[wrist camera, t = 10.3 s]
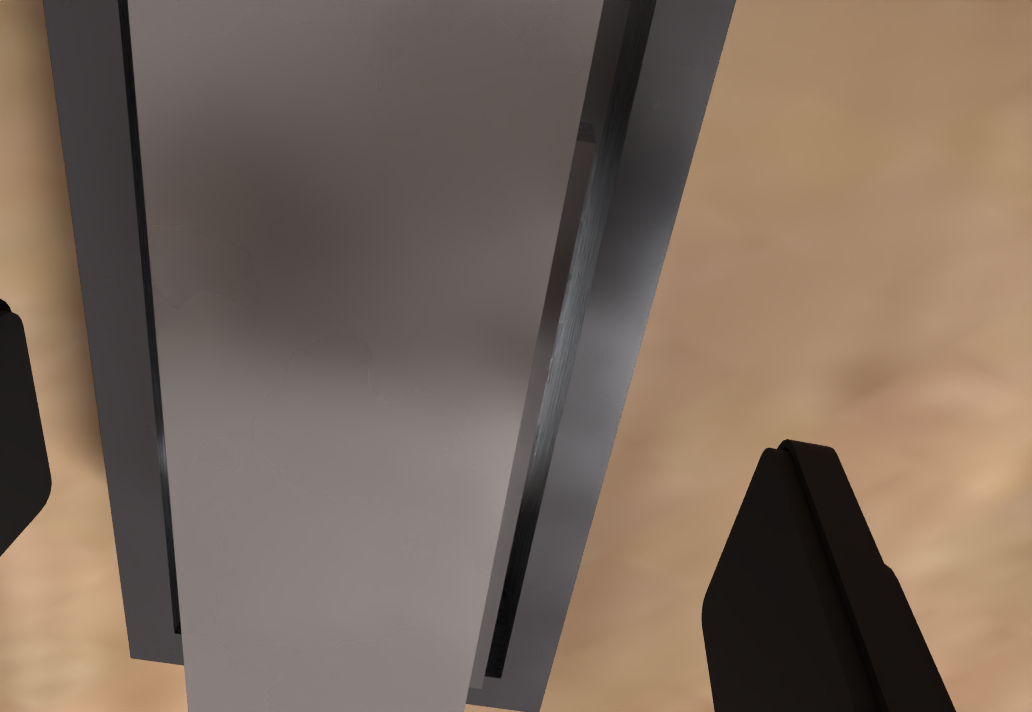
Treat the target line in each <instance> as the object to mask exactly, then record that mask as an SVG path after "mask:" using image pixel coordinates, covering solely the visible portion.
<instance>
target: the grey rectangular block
mask: <svg viewBox="0 0 1032 712" xmlns="http://www.w3.org/2000/svg"><path fill="white" fill-rule="evenodd" d="M603 1H604V0H128V11H129V22H130V34H131V46H132V58H133V69H134V81H135V93H136V105H137V116H138V128H139V140H140V152H141V163H142V175H143V187H144V199H145V210H146V222H147V234H148V245H149V257H150V269H151V281H152V292H153V304H154V316H155V328H156V339H157V351H158V363H159V375H160V386H161V398H162V410H163V422H164V433H165V445H166V457H167V469H168V480H169V492H170V504H171V515H172V527H173V539H174V551H175V562H176V574H177V586H178V598H179V609H180V621H181V633H182V645H183V656H184V668H185V680H186V692H187V703H188V712H464V709H465V704H466V699H467V694H468V688H469V687H470V688H478V689H482V686H483V681H484V676H485V671H486V667H487V662H488V657H489V652H490V647H491V643H492V638H493V633H494V628H495V624H496V619H497V614H498V609H499V605H500V600H501V595H502V590H503V585H504V581H505V576H506V571H507V566H508V562H509V557H510V552H511V547H512V543H513V538H514V533H515V528H516V524H517V519H518V514H519V509H520V504H521V500H522V495H523V490H524V485H525V481H526V476H527V471H528V466H529V462H530V457H531V452H532V447H533V442H534V438H535V433H536V428H537V423H538V419H539V414H540V409H541V404H542V400H543V395H544V390H545V385H546V381H547V376H548V371H549V366H550V361H551V357H552V352H553V347H554V342H555V338H556V333H557V328H558V323H559V319H560V314H561V309H562V304H563V299H564V295H565V290H566V285H567V280H568V276H569V271H570V266H571V261H572V257H573V252H574V247H575V242H576V238H577V233H578V228H579V223H580V218H581V214H582V209H583V204H584V199H585V195H586V190H587V185H588V180H589V176H590V171H591V166H592V161H593V156H594V152H595V147H596V140H595V134H594V128H593V124H589V123H583V122H580V118H581V113H582V108H583V103H584V98H585V93H586V88H587V83H588V78H589V72H590V67H591V62H592V57H593V52H594V47H595V42H596V37H597V32H598V27H599V22H600V16H601V11H602V6H603Z"/></svg>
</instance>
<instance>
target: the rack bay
mask: <svg viewBox="0 0 1032 712" xmlns="http://www.w3.org/2000/svg"><path fill="white" fill-rule="evenodd" d="M735 2H736V0H604V1H603V6H602V11H601V16H600V22H599V27H598V32H597V37H596V42H595V47H594V52H593V57H592V62H591V67H590V72H589V78H588V83H587V88H586V93H585V98H584V103H583V108H582V113H581V118H580V122H583V123H589V124H593V128H594V134H595V140H596V147H595V152H594V156H593V161H592V166H591V171H590V176H589V180H588V185H587V190H586V195H585V199H584V204H583V209H582V214H581V218H580V223H579V228H578V233H577V238H576V242H575V247H574V252H573V257H572V261H571V266H570V271H569V276H568V280H567V285H566V290H565V295H564V299H563V304H562V309H561V314H560V319H559V323H558V328H557V333H556V338H555V342H554V347H553V352H552V357H551V361H550V366H549V371H548V376H547V381H546V385H545V390H544V395H543V400H542V404H541V409H540V414H539V419H538V423H537V428H536V433H535V438H534V442H533V447H532V452H531V457H530V462H529V466H528V471H527V476H526V481H525V485H524V490H523V495H522V500H521V504H520V509H519V514H518V519H517V524H516V528H515V533H514V538H513V543H512V547H511V552H510V557H509V562H508V566H507V571H506V576H505V581H504V585H503V590H502V595H501V600H500V605H499V609H498V614H497V619H496V624H495V628H494V633H493V638H492V643H491V647H490V652H489V657H488V662H487V667H486V671H485V676H484V681H483V686H482V689H478V688H470V687H469V688H468V694H467V699H466V704H472V705H479V706H486V707H494V708H501V709H508V710H516V711H523V712H539V711H540V707H541V704H542V700H543V697H544V693H545V689H546V686H547V682H548V679H549V675H550V671H551V668H552V664H553V660H554V657H555V653H556V650H557V646H558V642H559V639H560V635H561V631H562V628H563V624H564V621H565V617H566V613H567V610H568V606H569V603H570V599H571V595H572V592H573V588H574V584H575V581H576V577H577V574H578V570H579V566H580V563H581V559H582V556H583V552H584V548H585V545H586V541H587V537H588V534H589V530H590V527H591V523H592V519H593V516H594V512H595V509H596V505H597V501H598V498H599V494H600V490H601V487H602V483H603V480H604V476H605V472H606V469H607V465H608V461H609V458H610V454H611V451H612V447H613V443H614V440H615V436H616V433H617V429H618V425H619V422H620V418H621V414H622V411H623V407H624V404H625V400H626V396H627V393H628V389H629V386H630V382H631V378H632V375H633V371H634V367H635V364H636V360H637V357H638V353H639V349H640V346H641V342H642V338H643V335H644V331H645V328H646V324H647V320H648V317H649V313H650V310H651V306H652V302H653V299H654V295H655V291H656V288H657V284H658V281H659V277H660V273H661V270H662V266H663V263H664V259H665V255H666V252H667V248H668V244H669V241H670V237H671V234H672V230H673V226H674V223H675V219H676V216H677V212H678V208H679V205H680V201H681V197H682V194H683V190H684V187H685V183H686V179H687V176H688V172H689V168H690V165H691V161H692V158H693V154H694V150H695V147H696V143H697V140H698V136H699V132H700V129H701V125H702V121H703V118H704V114H705V111H706V107H707V103H708V100H709V96H710V93H711V89H712V85H713V82H714V78H715V74H716V71H717V67H718V64H719V60H720V56H721V53H722V49H723V45H724V42H725V38H726V35H727V31H728V27H729V24H730V20H731V17H732V13H733V9H734V6H735ZM43 5H44V12H45V20H46V27H47V35H48V42H49V50H50V57H51V65H52V72H53V80H54V87H55V95H56V102H57V110H58V117H59V125H60V132H61V140H62V147H63V155H64V162H65V170H66V177H67V185H68V192H69V200H70V207H71V215H72V222H73V230H74V237H75V244H76V252H77V259H78V267H79V274H80V282H81V289H82V297H83V304H84V312H85V319H86V327H87V334H88V342H89V349H90V357H91V364H92V372H93V379H94V387H95V394H96V402H97V409H98V417H99V424H100V432H101V439H102V447H103V454H104V462H105V469H106V477H107V484H108V491H109V499H110V506H111V514H112V521H113V529H114V536H115V544H116V551H117V559H118V566H119V574H120V581H121V589H122V596H123V604H124V611H125V619H126V626H127V634H128V641H129V649H130V656H131V658H133V659H141V660H148V661H156V662H163V663H170V664H178V665H184V656H183V645H182V633H181V621H180V609H179V598H178V586H177V574H176V562H175V551H174V539H173V527H172V515H171V504H170V492H169V480H168V469H167V457H166V445H165V433H164V422H163V410H162V398H161V386H160V375H159V363H158V351H157V339H156V328H155V316H154V304H153V292H152V281H151V269H150V257H149V245H148V234H147V222H146V210H145V199H144V187H143V175H142V163H141V152H140V140H139V128H138V116H137V105H136V93H135V81H134V69H133V58H132V46H131V34H130V22H129V11H128V0H43Z"/></svg>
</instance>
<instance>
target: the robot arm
mask: <svg viewBox="0 0 1032 712" xmlns="http://www.w3.org/2000/svg"><path fill="white" fill-rule="evenodd" d="M51 485H52V481H51V474H50V468H49V463H48V457H47V452H46V446H45V441H44V436H43V430H42V425H41V419H40V414H39V408H38V403H37V397H36V392H35V386H34V381H33V376H32V370H31V365H30V359H29V354H28V348H27V343H26V337H25V332H24V327H23V323H22V320H21V318H20V317H19V316H18V315H17V314H15V313H12V312H11V309H10V307H9V306H8V304H7V303H6V302H5V301H3V300H2V299H0V556H1V555H2V554H3V553H4V552H5V551H6V550H7V548H8V547H9V546H10V545H11V544H12V543H13V542H14V540H15V539H16V538H17V537H18V536H19V535H20V534H21V533H22V531H23V530H24V529H25V528H26V527H27V526H28V525H29V523H30V522H31V521H32V520H33V519H34V518H35V517H36V516H37V514H38V513H39V512H40V511H41V510H42V508H43V507H44V506H45V504H46V502H47V500H48V498H49V495H50V492H51ZM702 629H703V636H704V642H705V649H706V656H707V663H708V669H709V676H710V683H711V689H712V696H713V703H714V710H715V712H956V710H955V708H954V706H953V703H952V701H951V699H950V697H949V694H948V692H947V690H946V688H945V685H944V683H943V681H942V678H941V676H940V674H939V672H938V669H937V667H936V665H935V663H934V660H933V658H932V656H931V654H930V651H929V649H928V647H927V644H926V642H925V640H924V638H923V635H922V633H921V631H920V629H919V626H918V624H917V622H916V620H915V617H914V615H913V613H912V610H911V608H910V606H909V604H908V601H907V599H906V597H905V595H904V592H903V590H902V588H901V586H900V583H899V581H898V579H897V577H896V576H895V574H894V572H893V571H892V569H891V568H889V567H888V566H887V565H885V564H884V562H883V560H882V557H881V555H880V553H879V550H878V548H877V546H876V543H875V541H874V539H873V537H872V534H871V532H870V530H869V527H868V525H867V523H866V520H865V518H864V516H863V513H862V511H861V509H860V506H859V504H858V502H857V499H856V497H855V495H854V492H853V490H852V488H851V486H850V483H849V481H848V479H847V476H846V474H845V472H844V469H843V467H842V465H841V462H840V460H839V458H838V455H837V453H836V452H835V450H834V449H833V448H831V447H828V446H822V445H817V444H811V443H805V442H800V441H794V440H789V439H787V440H784V441H782V443H781V444H780V445H779V447H778V448H777V449H773V448H767V449H765V450H764V452H763V453H762V455H761V457H760V460H759V462H758V465H757V467H756V470H755V472H754V475H753V477H752V480H751V482H750V485H749V487H748V490H747V492H746V495H745V497H744V500H743V502H742V505H741V507H740V510H739V512H738V515H737V517H736V520H735V522H734V525H733V527H732V530H731V532H730V534H729V537H728V539H727V542H726V544H725V547H724V549H723V552H722V554H721V557H720V559H719V562H718V564H717V567H716V569H715V572H714V574H713V577H712V579H711V582H710V584H709V587H708V589H707V592H706V594H705V598H704V601H703V607H702Z"/></svg>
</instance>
